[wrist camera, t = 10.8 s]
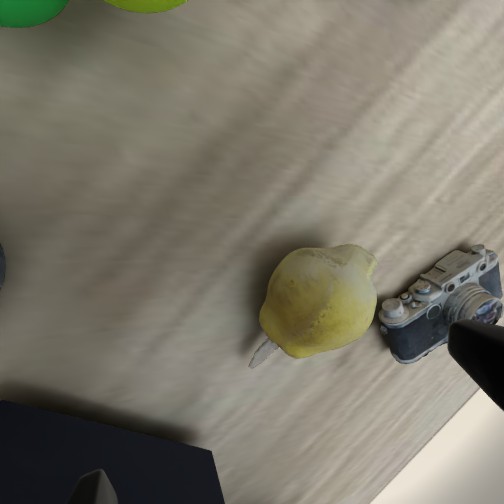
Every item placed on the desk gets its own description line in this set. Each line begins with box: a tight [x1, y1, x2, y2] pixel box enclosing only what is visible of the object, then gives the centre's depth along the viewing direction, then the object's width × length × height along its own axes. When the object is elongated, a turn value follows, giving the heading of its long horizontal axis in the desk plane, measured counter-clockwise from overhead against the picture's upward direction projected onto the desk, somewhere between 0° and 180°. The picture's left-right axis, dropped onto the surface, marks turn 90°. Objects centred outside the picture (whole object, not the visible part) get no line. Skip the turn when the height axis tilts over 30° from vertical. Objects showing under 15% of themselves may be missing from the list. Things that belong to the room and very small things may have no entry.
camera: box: [378, 244, 504, 364], centre depth 24 cm, size 5×10×4 cm, turn 116°
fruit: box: [248, 244, 378, 368], centre depth 20 cm, size 6×6×10 cm
